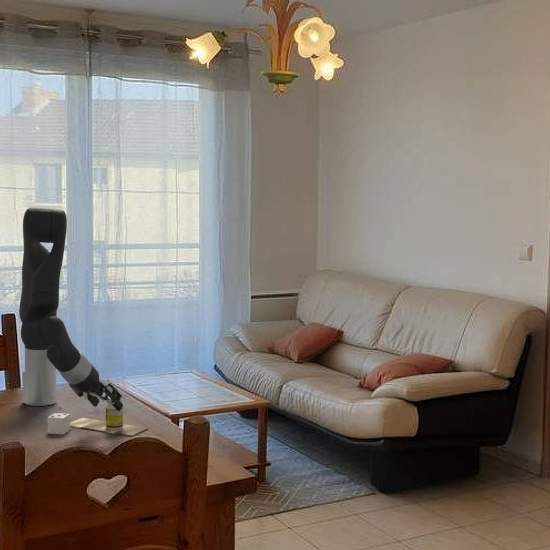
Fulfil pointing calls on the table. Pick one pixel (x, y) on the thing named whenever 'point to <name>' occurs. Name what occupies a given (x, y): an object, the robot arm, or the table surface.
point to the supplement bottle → (113, 417)
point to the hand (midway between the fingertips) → (108, 406)
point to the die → (58, 423)
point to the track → (101, 426)
